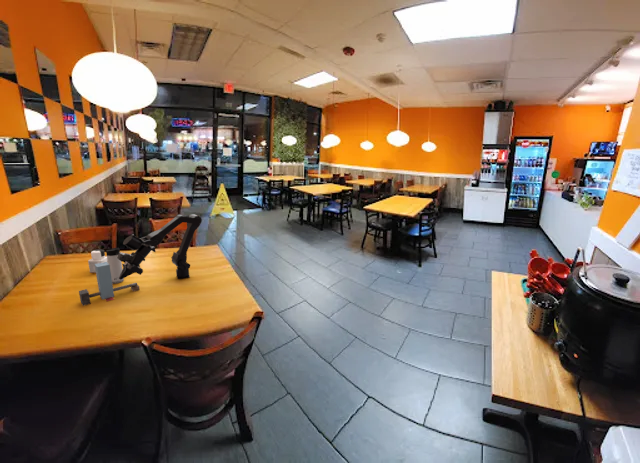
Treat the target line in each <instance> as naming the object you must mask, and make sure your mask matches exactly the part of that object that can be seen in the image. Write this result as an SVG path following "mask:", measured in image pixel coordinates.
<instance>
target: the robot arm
mask: <svg viewBox="0 0 640 463" xmlns="http://www.w3.org/2000/svg"><path fill="white" fill-rule="evenodd" d="M202 221H203V220H202V217H201V216H199V215H197V214H194V213H192V214H191V213H190V214H189V215H187V214H177V215H176V216H175V217H174V218H172V219H171V220H170V221H168V222H167V223H166V224H165V225H163V226H162V227H161V228H160V229H157V230H155V231H152V232H151V233H148V234H147V235H146V236H143V237H141V238H139V237H137V236H136V235H135V234H134V233H131V235H129V236H127V237H126V238H125V239H124V240H123V243H122V245H124V246H126V247H128V248H129V249H131V250H132V251H135V252H131V253H127V252H122V251H121V252H119V254H118V257H117V258H118V259H119V260H120V261H121V263H122V272H121V274H120V277H119V279H120V280H121V279H123V278H124V279H125V278H127V277H130V275H132V274H138V275H142V274H143V273H144V270H143V268H142V267H141V263H142V262H145V261H146V257H147V256H148V255H149V254H150V253H151V251H152V252H153V253H156V251H157V250H156V246H159V245H160V244H161V243H162V242H163V240H164V238H165V237H166V236H167V235H168V234H169V233H171V232H172V231H173V230H175V229H176V228H177V227H178V226H180V225H181V224H182V223H186V229H185V232H184V235H183V238H182V239H181V243H180V245H179V248H178V250H177V251H176V252H175V251H173V253H172V256H171V257H170V258H171V263H172V264H173V265H175V266H176V269H175V272H176V278H177V280H181V279H189V278H190V267H191V264H190V263H188V261H187V259H188V255H187V254H188V253H187V252H188V250H189V247H190V246H191V242H192V240H193V237H194V234H195V232H196V230H197V229H198V228H199V227H200V226H201V224H202Z"/></svg>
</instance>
